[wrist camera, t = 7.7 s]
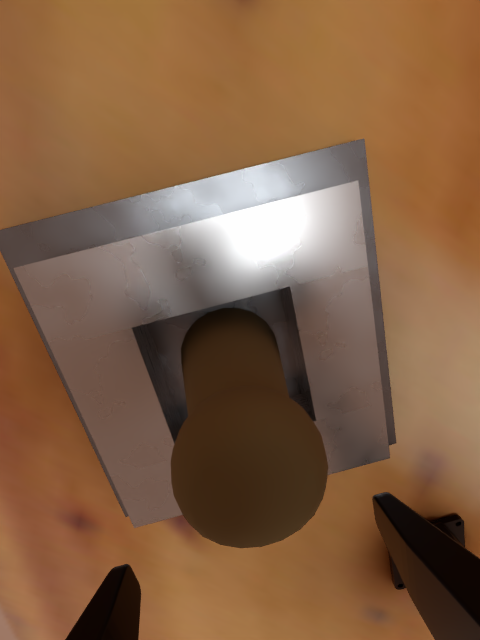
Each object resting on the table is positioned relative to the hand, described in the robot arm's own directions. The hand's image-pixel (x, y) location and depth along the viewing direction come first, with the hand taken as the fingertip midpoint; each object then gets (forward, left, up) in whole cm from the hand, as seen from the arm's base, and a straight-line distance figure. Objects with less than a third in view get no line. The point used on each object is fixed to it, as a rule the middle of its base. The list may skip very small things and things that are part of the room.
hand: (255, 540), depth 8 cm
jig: (0, 0, -13) cm, 13 cm away
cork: (0, 0, -12) cm, 12 cm away
